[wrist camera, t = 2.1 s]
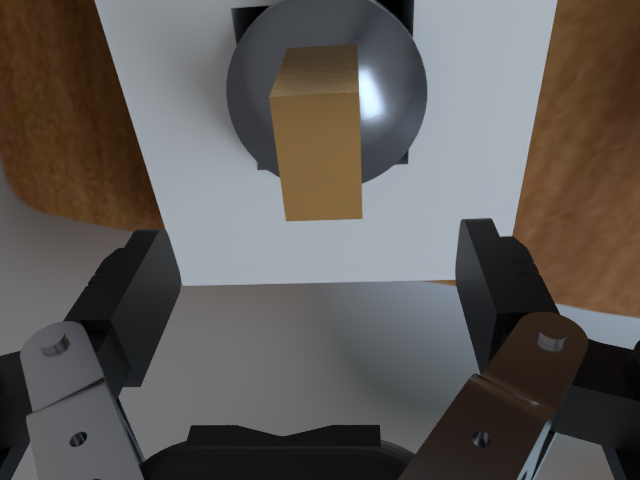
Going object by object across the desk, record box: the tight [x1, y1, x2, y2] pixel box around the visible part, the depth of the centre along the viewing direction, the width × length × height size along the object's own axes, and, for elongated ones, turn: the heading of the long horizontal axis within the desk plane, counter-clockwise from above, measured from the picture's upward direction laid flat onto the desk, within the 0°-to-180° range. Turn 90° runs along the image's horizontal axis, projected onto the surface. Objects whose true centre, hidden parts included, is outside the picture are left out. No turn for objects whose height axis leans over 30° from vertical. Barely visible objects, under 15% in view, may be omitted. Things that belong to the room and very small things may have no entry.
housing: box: [95, 0, 557, 286], centre depth 26 cm, size 24×20×6 cm
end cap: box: [226, 0, 427, 221], centre depth 23 cm, size 9×9×12 cm
